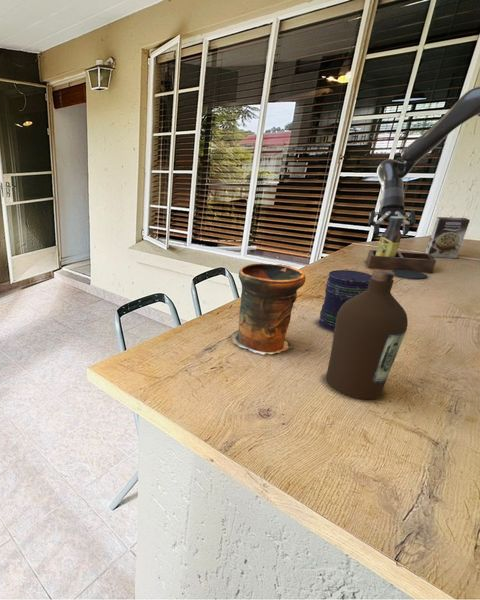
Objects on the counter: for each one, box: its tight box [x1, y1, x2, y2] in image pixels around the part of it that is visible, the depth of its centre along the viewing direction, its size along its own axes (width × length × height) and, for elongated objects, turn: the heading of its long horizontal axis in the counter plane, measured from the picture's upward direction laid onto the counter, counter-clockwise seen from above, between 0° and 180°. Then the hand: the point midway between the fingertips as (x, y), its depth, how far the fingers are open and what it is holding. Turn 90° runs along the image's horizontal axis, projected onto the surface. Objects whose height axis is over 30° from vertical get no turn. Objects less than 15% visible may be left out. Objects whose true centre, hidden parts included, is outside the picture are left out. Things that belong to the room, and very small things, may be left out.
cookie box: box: [425, 216, 471, 259], centre depth 148 cm, size 9×6×16 cm
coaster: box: [390, 270, 428, 280], centre depth 131 cm, size 10×10×1 cm
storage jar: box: [318, 269, 372, 333], centre depth 95 cm, size 10×10×15 cm
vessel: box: [231, 262, 307, 356], centre depth 88 cm, size 14×14×20 cm
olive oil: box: [325, 269, 409, 400], centre depth 68 cm, size 11×11×25 cm
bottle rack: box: [366, 249, 437, 274], centre depth 140 cm, size 19×11×5 cm, turn 56°
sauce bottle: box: [375, 216, 403, 257], centre depth 140 cm, size 6×6×20 cm
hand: (390, 233), depth 139 cm, fingers open, 8 cm apart
